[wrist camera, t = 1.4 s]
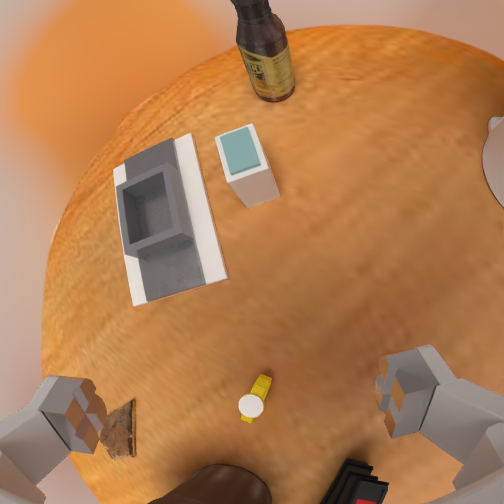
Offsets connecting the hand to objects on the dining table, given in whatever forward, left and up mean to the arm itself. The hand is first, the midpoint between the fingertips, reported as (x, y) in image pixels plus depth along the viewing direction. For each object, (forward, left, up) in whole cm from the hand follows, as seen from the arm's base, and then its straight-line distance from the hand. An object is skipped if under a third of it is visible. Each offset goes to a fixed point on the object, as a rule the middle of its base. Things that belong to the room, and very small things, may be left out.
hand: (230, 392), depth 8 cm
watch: (+7, +7, -31) cm, 32 cm away
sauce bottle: (-7, -33, -31) cm, 46 cm away
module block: (0, -19, -30) cm, 36 cm away
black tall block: (0, +23, -31) cm, 38 cm away
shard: (+31, +9, -31) cm, 45 cm away
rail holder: (+14, -19, -30) cm, 39 cm away
